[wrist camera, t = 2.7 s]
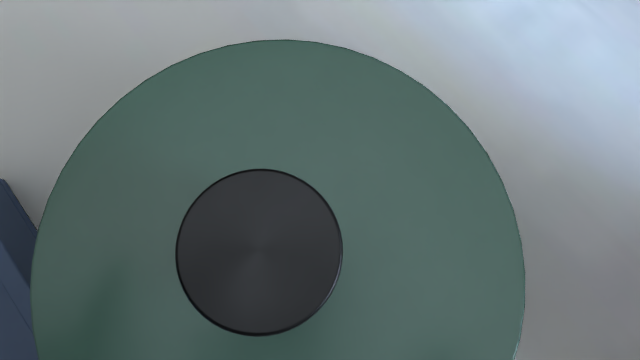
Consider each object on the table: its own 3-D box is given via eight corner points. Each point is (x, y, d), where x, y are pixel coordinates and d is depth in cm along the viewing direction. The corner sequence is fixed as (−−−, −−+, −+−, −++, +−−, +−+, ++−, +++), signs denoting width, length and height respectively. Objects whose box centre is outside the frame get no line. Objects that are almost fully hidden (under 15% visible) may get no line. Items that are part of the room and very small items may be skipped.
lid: (221, 633, 12) (144, 898, 7) (-30, 222, 14) (-250, 171, 8) (602, 320, 13) (793, 331, 8) (329, -16, 15) (335, -190, 10)
